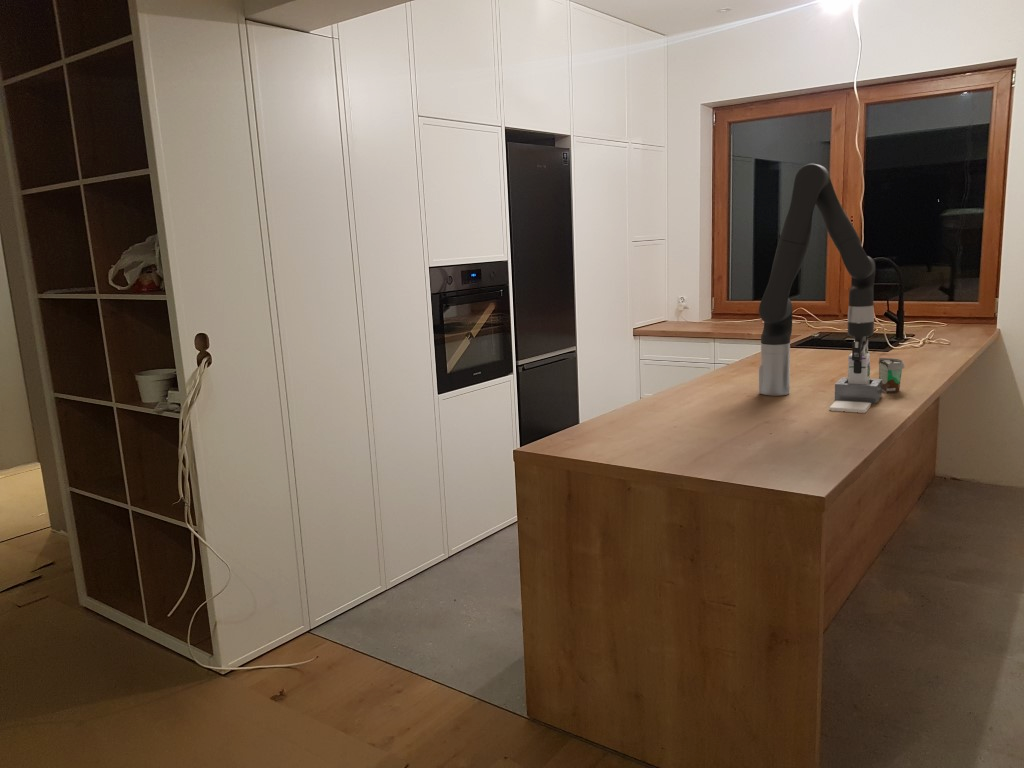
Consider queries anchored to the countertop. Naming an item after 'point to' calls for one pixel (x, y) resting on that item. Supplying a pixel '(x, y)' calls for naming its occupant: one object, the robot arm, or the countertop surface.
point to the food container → (890, 374)
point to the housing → (858, 391)
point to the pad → (850, 406)
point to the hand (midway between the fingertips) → (859, 370)
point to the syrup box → (864, 375)
